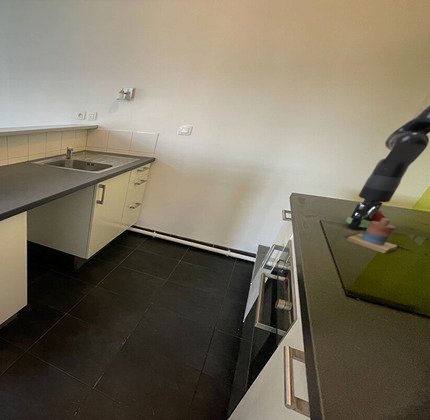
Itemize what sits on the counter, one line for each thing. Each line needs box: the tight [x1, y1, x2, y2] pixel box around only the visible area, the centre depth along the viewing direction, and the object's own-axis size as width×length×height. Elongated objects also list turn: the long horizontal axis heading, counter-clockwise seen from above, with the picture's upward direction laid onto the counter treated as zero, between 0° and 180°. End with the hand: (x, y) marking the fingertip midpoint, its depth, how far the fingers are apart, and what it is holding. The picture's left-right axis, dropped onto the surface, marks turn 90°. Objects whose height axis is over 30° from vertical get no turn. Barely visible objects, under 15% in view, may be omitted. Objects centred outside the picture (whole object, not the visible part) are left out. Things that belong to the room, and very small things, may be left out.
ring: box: [345, 216, 371, 229], centre depth 96 cm, size 7×7×2 cm
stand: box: [346, 217, 398, 255], centre depth 84 cm, size 9×9×10 cm
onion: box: [369, 209, 386, 222], centre depth 98 cm, size 6×6×8 cm
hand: (356, 227), depth 97 cm, fingers closed on ring, 6 cm apart
